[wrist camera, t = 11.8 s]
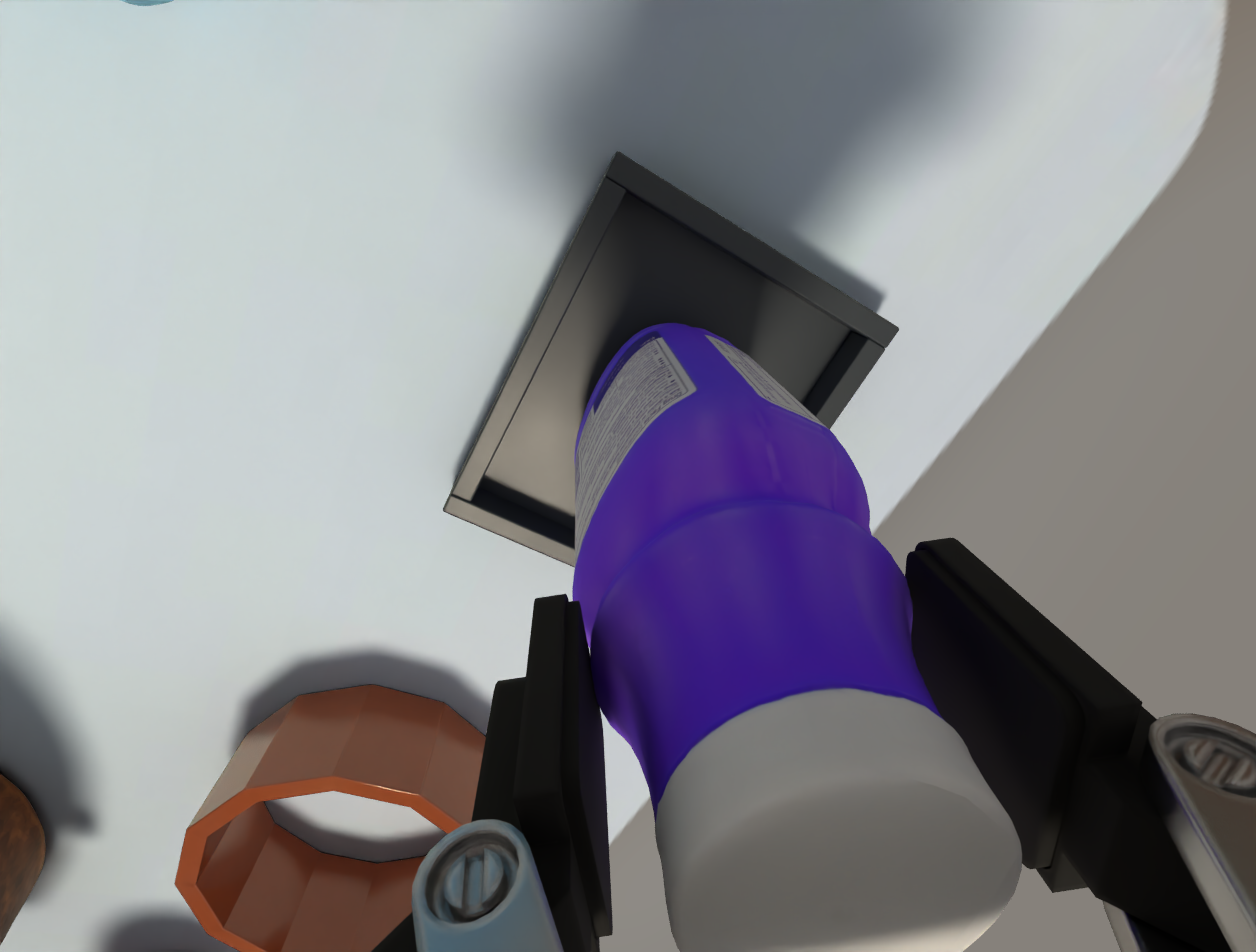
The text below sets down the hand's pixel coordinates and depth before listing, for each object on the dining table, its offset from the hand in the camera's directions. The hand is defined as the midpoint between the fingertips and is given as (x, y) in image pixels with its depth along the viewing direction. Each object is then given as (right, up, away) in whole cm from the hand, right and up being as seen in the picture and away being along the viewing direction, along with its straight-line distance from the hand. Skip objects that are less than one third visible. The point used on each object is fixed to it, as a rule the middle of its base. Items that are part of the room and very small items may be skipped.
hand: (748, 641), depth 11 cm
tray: (-1, +6, +13) cm, 14 cm away
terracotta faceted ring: (-15, -12, +20) cm, 28 cm away
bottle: (-1, +5, +12) cm, 13 cm away
